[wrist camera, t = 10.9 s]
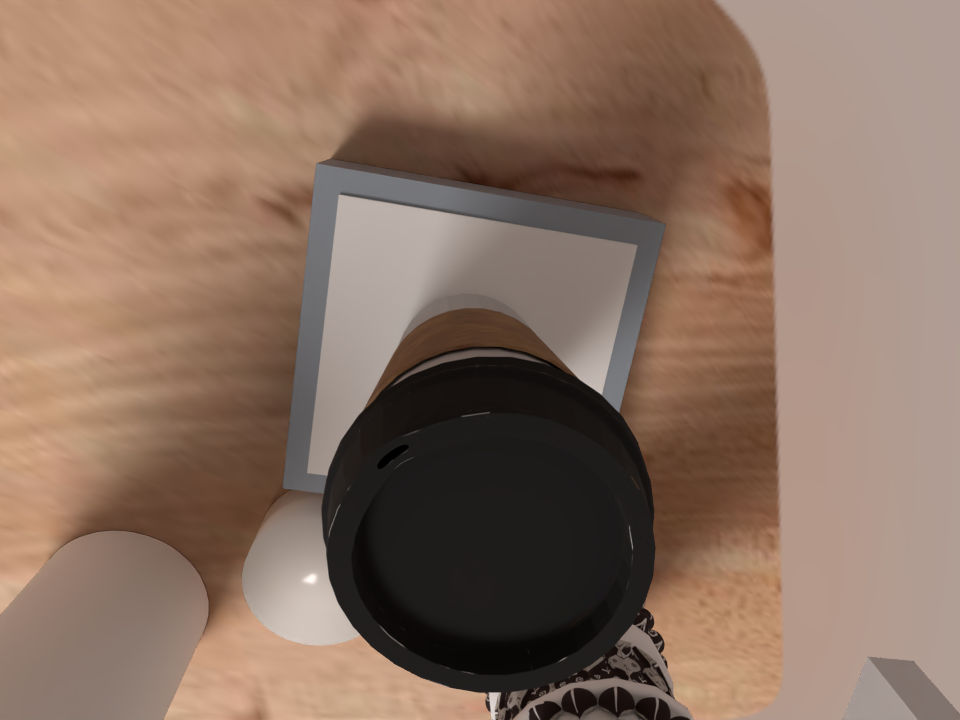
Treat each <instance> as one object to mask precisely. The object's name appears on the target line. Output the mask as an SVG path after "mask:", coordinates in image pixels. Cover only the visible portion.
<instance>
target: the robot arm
mask: <svg viewBox="0 0 960 720" xmlns="http://www.w3.org/2000/svg"><path fill="white" fill-rule="evenodd" d="M843 720H960V714H959V712H958V711H957V710H956V709H955V708H954V707H953V706H952V704H950V702H949V701H948V700H947V699H946V698H945V697H944V695H943V694H942V693H941V692H940V691H939V690H938V688H937V687H936V686H935V685H934V684H933V683H932V682H931V680H930V679H929V678H928V677H927V676H926V675H925V674H924V672H922V670H921V669H920V668H919V667H918V666H917V665H916V663H915V662H914V661H906V660H896V659H885V658H876V657H867V659H866V662H865V665H864V667H863V669H862V672H861V674H860V677H859V680H858V682H857V685H856V687H855V690H854V692H853V695H852V697H851V700H850V702H849V705H848V707H847V710H846V712H845V715H844V717H843Z"/></svg>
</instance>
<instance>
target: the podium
mask: <svg viewBox="0 0 960 720" xmlns="http://www.w3.org/2000/svg"><path fill="white" fill-rule="evenodd" d="M665 226H666V224H664V223H662V222H660V221H657V220H655V219H653V218H650V217H648V216H646V215H644V214H641V213H638V212H633V211H627V210H621V209H615V208H610V207H604V206H598V205H593V204H587V203H581V202H575V201H570V200H564V199H558V198H552V197H547V196H541V195H535V194H530V193H524V192H518V191H512V190H507V189H501V188H495V187H490V186H484V185H478V184H472V183H467V182H461V181H455V180H449V179H444V178H438V177H432V176H427V175H421V174H415V173H409V172H404V171H398V170H392V169H387V168H381V167H375V166H369V165H364V164H358V163H352V162H347V161H341V160H335V159H328V160H325V161H322V162H319V163H316V171H315V180H314V190H313V199H312V209H311V219H310V228H309V238H308V248H307V257H306V267H305V277H304V286H303V296H302V306H301V315H300V325H299V334H298V344H297V354H296V363H295V373H294V383H293V392H292V402H291V412H290V421H289V431H288V441H287V450H286V460H285V470H284V479H283V489H291V490H299V491H307V492H315V493H323V494H324V489H325V483H326V478H327V475H328V470H329V467H330V464H331V462H332V460H333V457H334V455H335V453H336V450H337V448H338V446H339V443H340V441H341V439H342V438H343V437H344V435H345V434H346V432H347V431H348V429H349V428H350V427H351V425H352V424H353V422H354V421H355V419H356V418H357V417H358V415H359V414H360V413H361V412H362V411H363V409H364V408H365V406H366V404H367V402H368V400H369V398H370V396H371V395H372V393H373V391H374V389H375V387H376V385H377V383H378V381H379V380H380V378H381V376H382V374H383V372H384V370H385V368H386V366H387V365H388V363H389V361H390V359H391V357H392V355H393V353H394V352H395V350H396V349H397V347H398V345H399V342H400V340H401V338H402V335H403V333H404V331H405V330H406V328H407V327H408V326H409V324H410V323H411V321H412V320H413V319H414V318H415V317H416V316H417V315H418V314H419V313H420V312H421V311H422V310H423V309H425V308H426V307H428V306H430V305H431V304H433V303H434V302H437V301H439V300H442V299H444V298H447V297H451V296H457V295H480V296H485V297H489V298H492V299H494V300H497V301H499V302H501V303H503V304H505V305H506V306H508V307H509V308H511V309H512V310H514V311H515V312H516V313H517V314H518V315H519V316H520V317H521V318H522V319H523V320H524V321H525V322H526V323H527V325H528V326H529V327H530V328H531V329H532V331H533V332H534V333H535V334H536V335H537V336H538V337H539V338H540V339H541V340H542V341H543V342H544V343H545V344H546V345H547V346H548V347H549V348H550V349H551V350H552V351H553V352H554V353H555V355H556V356H557V357H558V358H559V359H560V360H561V361H562V362H563V363H564V364H565V365H566V366H567V367H568V368H569V369H570V370H571V371H572V372H573V373H574V374H575V375H576V376H577V377H578V378H579V379H580V380H581V381H582V382H584V383H585V384H587V385H588V386H590V387H591V388H593V389H594V390H596V391H597V392H598V393H600V394H601V395H602V396H603V397H604V398H605V399H606V400H607V401H608V402H609V403H610V404H611V405H612V406H613V407H614V408H615V409H616V410H617V411H618V412H619V411H620V407H621V403H622V399H623V395H624V391H625V387H626V383H627V379H628V375H629V371H630V367H631V363H632V359H633V355H634V351H635V347H636V343H637V339H638V335H639V331H640V327H641V323H642V319H643V315H644V311H645V307H646V303H647V299H648V295H649V290H650V286H651V282H652V278H653V274H654V270H655V266H656V262H657V258H658V254H659V250H660V246H661V242H662V238H663V234H664V230H665Z"/></svg>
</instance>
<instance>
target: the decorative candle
mask: <svg viewBox="0 0 960 720" xmlns="http://www.w3.org/2000/svg"><path fill="white" fill-rule="evenodd" d="M644 606H645V603H644V604H643V606H642V608H641V610H640V611H639V613H638V615H637V617H636V619H635V620H634V622H633V624H632V626H631V627H630V628H629V629H628V631H627V632H626V633H625V634H624V635H623V636H622V638H621V639H620V640H619V641H618V642H617V643H616V645H615V646H614V647H613V648H612V649H610V650H609V651H608V652H607V653H605V654H604V655H603V656H602V657H601V658H599V659H598V660H597V661H596V662H594V663H593V664H592V665H590V666H588V667H587V668H585V669H583V670H581V671H579V672H577V673H575V674H574V675H572V676H570V677H568V678H566V679H563V680H560V681H557V682H554V683H551V684H548V685H545V686H542V687H539V688H534V689H528V690H522V691H516V692H509V693H486V694H488V695H487V697H486V707H487V709H488V711H489V712H490V713H491V717H492V720H694V719H693V717H692V716H691V714H690V712H689V710H688V708H687V707H685V706H684V705H682V704H681V703H679V702H678V701H676V700H675V698H674V696H673V682H672V680H671V677H670V675H669V673H668V670H667V668H668V666H667V661H666V659H665V657H664V656H663V655H662V654H660V653H661V652H662V651H663V650H664V640H663V638H662V637H661V635H660V634H659V633H658V632H656V631H655V630H651V629H652V628H653V626H654V618H653V616H652V614H651V613H650V612H649V611H648V610H646V609H644Z"/></svg>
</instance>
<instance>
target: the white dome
mask: <svg viewBox="0 0 960 720" xmlns="http://www.w3.org/2000/svg"><path fill="white" fill-rule="evenodd" d="M323 495H324V494H323V493H315V492H307V491H299V490H290V491H288V492H287V493H285V494H284V495H282V496H281V497H280V498H279V499H277V500H276V501H275V502H274V504H273V505H272V506H271V507H270V508H269V510H268V511H267V513H266V515H265V517H264V519H263V521H262V523H261V525H260V528H259V530H258V532H257V535H256V537H255V539H254V542H253V544H252V546H251V548H250V551H249V553H248V555H247V558H246V560H245V563H244V566H243V572H242V587H243V593H244V596H245V600H246V602H247V604H248V606H249V608H250V610H251V611H252V613H253V614H254V616H255V617H256V618H257V619H258V620H259V621H260V622H261V623H262V624H263V625H264V626H265V627H266V628H268V629H269V630H271V631H272V632H273V633H275V634H277V635H279V636H281V637H283V638H285V639H288V640H290V641H293V642H297V643H301V644H307V645H319V646H321V645H332V644H338V643H342V642H346V641H349V640H351V639H353V638H356V637H358V636H360V634H359V633H358V632H357V631H356V630H355V629H354V627H353V626H352V625H351V623H350V621H349V620H348V618H347V617H346V615H345V614H344V612H343V611H342V609H341V607H340V606H339V604H338V602H337V599H336V597H335V594H334V591H333V589H332V586H331V583H330V581H329V574H328V566H327V558H326V546H325V543H324V539H323V529H322V513H321V507H322V501H323Z"/></svg>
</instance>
